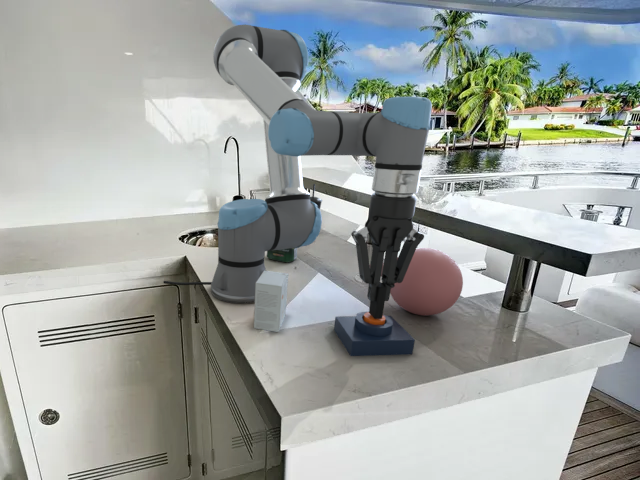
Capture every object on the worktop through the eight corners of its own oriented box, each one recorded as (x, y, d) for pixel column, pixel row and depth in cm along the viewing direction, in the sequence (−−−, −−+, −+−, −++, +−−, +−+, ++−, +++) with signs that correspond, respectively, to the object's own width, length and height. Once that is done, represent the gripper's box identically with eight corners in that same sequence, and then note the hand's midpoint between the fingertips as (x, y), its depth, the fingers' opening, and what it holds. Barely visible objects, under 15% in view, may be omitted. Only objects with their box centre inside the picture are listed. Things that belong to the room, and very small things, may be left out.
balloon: (370, 290, 101) (379, 234, 96) (455, 307, 92) (469, 246, 87) (357, 312, 89) (366, 249, 84) (454, 334, 80) (470, 265, 74)
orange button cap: (367, 330, 73) (368, 321, 72) (359, 321, 76) (360, 312, 76) (387, 330, 73) (389, 320, 72) (378, 320, 77) (380, 311, 76)
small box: (261, 312, 87) (263, 269, 84) (285, 316, 86) (288, 272, 82) (252, 328, 80) (254, 282, 76) (278, 333, 78) (282, 285, 75)
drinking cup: (320, 234, 157) (325, 185, 150) (302, 233, 157) (306, 184, 150) (317, 229, 164) (321, 183, 158) (299, 229, 164) (303, 182, 158)
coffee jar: (263, 259, 124) (265, 202, 118) (273, 253, 131) (276, 199, 124) (290, 264, 120) (295, 206, 113) (299, 258, 126) (304, 202, 120)
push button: (350, 356, 71) (353, 332, 69) (333, 330, 80) (336, 308, 78) (412, 354, 72) (416, 331, 70) (388, 328, 81) (391, 307, 80)
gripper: (366, 196, 62) (349, 325, 70) (441, 197, 63) (417, 323, 71) (350, 190, 69) (336, 307, 77) (418, 191, 70) (398, 306, 78)
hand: (375, 315), depth 74 cm, fingers closed
